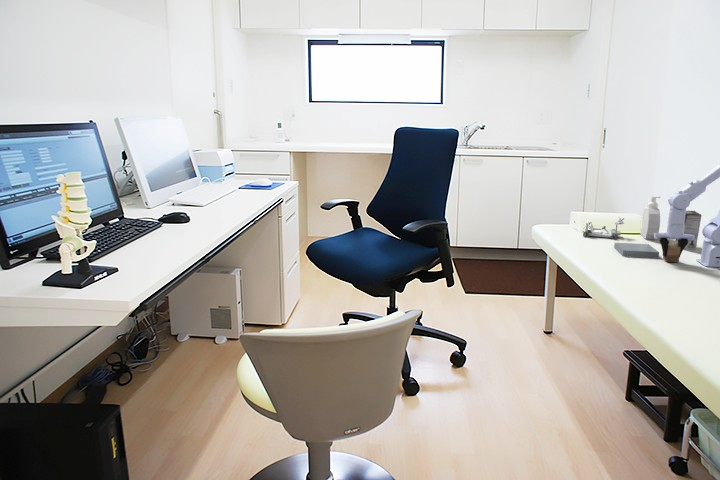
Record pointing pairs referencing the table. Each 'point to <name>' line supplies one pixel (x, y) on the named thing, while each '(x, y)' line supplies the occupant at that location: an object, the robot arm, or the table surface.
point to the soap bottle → (651, 219)
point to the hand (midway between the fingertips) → (671, 256)
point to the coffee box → (691, 228)
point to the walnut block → (672, 253)
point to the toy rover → (599, 233)
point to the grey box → (636, 250)
